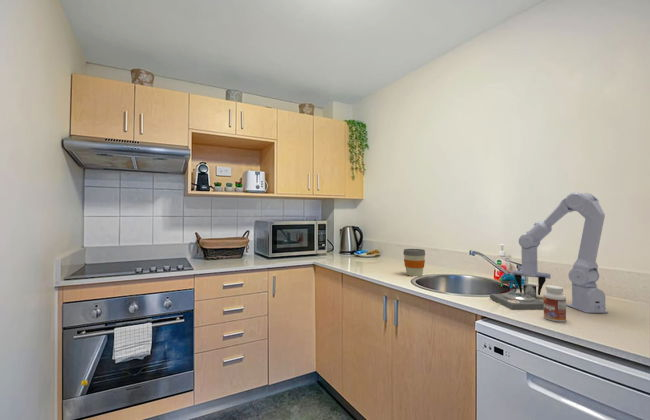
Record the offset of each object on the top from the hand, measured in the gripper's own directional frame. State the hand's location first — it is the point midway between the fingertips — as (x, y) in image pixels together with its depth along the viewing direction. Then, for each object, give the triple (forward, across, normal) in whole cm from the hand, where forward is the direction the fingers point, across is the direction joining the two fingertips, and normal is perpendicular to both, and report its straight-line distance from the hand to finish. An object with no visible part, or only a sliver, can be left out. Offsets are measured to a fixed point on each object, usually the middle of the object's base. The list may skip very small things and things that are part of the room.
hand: (529, 293), depth 131 cm
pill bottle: (+2, -6, +29) cm, 30 cm away
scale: (+1, +4, +15) cm, 16 cm away
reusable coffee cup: (+2, +56, -20) cm, 60 cm away
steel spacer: (+2, 0, 0) cm, 2 cm away
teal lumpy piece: (+2, +7, -16) cm, 17 cm away
